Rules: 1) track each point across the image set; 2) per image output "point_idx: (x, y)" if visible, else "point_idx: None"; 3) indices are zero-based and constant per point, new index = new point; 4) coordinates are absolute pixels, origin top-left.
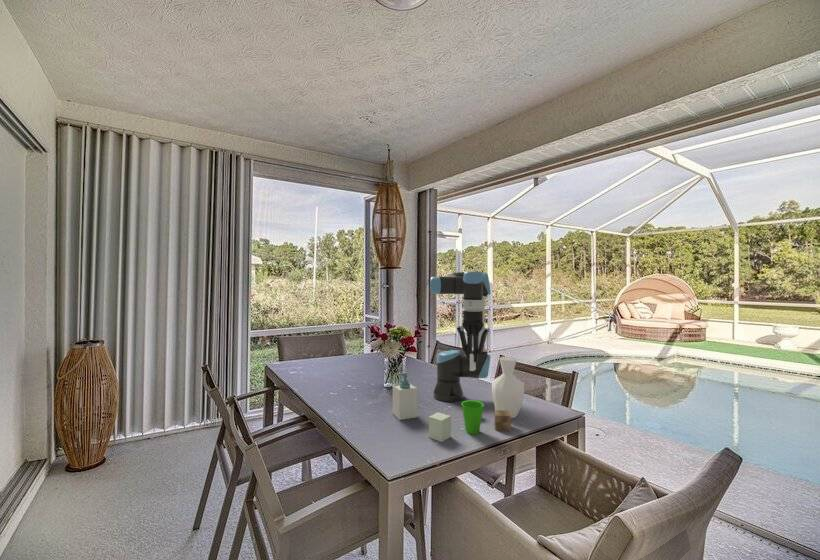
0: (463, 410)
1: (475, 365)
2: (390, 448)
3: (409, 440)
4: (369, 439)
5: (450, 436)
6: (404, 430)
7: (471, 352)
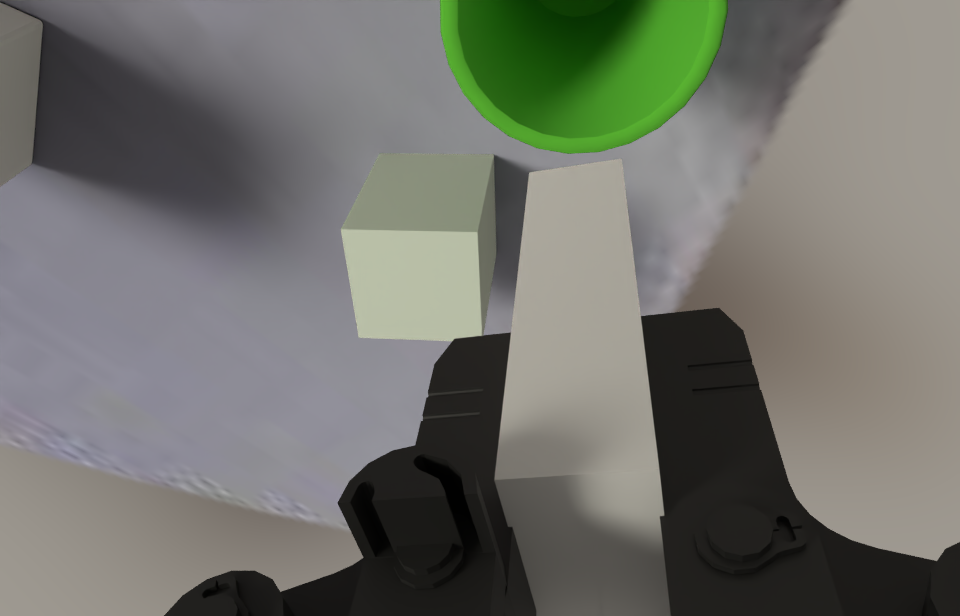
0: (514, 95)
1: (629, 228)
2: (348, 446)
3: (342, 342)
4: (198, 437)
5: (493, 160)
6: (208, 265)
7: (517, 577)
